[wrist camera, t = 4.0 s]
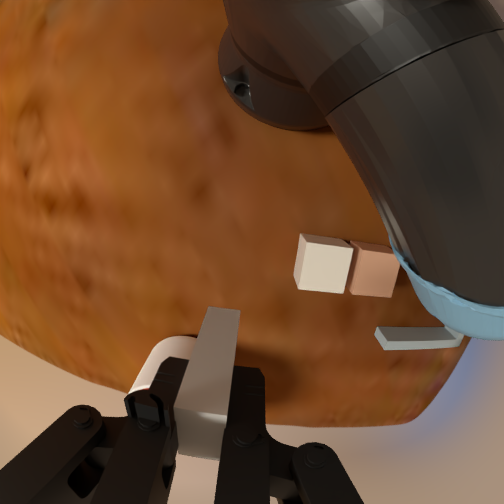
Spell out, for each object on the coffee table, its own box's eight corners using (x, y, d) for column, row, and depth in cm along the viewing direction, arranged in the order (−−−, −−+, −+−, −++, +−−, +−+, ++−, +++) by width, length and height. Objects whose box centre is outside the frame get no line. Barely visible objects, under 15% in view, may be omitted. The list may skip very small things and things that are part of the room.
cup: (188, 316, 31) (163, 369, 22) (244, 369, 33) (240, 429, 23) (138, 354, 33) (109, 404, 23) (192, 400, 35) (177, 453, 25)
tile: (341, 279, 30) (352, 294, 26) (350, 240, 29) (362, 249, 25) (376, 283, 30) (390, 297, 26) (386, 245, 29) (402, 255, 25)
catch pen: (374, 334, 31) (384, 350, 28) (410, 189, 27) (426, 191, 23) (446, 334, 32) (458, 346, 28) (482, 211, 27) (499, 216, 23)
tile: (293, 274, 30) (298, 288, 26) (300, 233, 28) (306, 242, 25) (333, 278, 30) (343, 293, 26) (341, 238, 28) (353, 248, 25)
